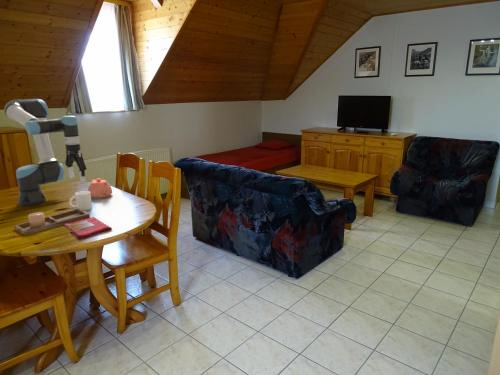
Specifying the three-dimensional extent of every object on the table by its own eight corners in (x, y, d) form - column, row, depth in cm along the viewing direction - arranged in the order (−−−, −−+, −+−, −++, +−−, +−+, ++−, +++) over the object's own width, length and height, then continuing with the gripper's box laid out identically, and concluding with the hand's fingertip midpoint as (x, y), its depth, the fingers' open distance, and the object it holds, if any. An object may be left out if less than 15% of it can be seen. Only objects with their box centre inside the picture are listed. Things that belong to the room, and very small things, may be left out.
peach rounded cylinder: (28, 227, 187) (25, 214, 185) (42, 223, 192) (40, 211, 190) (33, 230, 183) (31, 217, 181) (48, 226, 188) (46, 214, 186)
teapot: (119, 197, 239) (117, 179, 236) (97, 202, 229) (94, 184, 226) (104, 191, 254) (102, 174, 251) (82, 195, 244) (80, 177, 240)
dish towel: (79, 241, 175) (78, 235, 174) (62, 227, 191) (61, 222, 190) (113, 231, 186) (112, 226, 185) (94, 219, 202) (94, 214, 202)
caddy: (15, 230, 185) (14, 225, 185) (78, 213, 210) (77, 208, 209) (25, 237, 178) (24, 231, 177) (90, 218, 202) (89, 213, 201)
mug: (71, 213, 210) (68, 196, 208) (69, 209, 217) (67, 192, 214) (93, 209, 216) (91, 193, 213) (91, 205, 223) (89, 189, 220)
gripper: (55, 142, 210) (61, 177, 216) (76, 146, 195) (81, 184, 201) (68, 140, 216) (73, 175, 222) (90, 145, 201) (94, 181, 207)
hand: (77, 179), depth 212 cm, fingers open, 13 cm apart
